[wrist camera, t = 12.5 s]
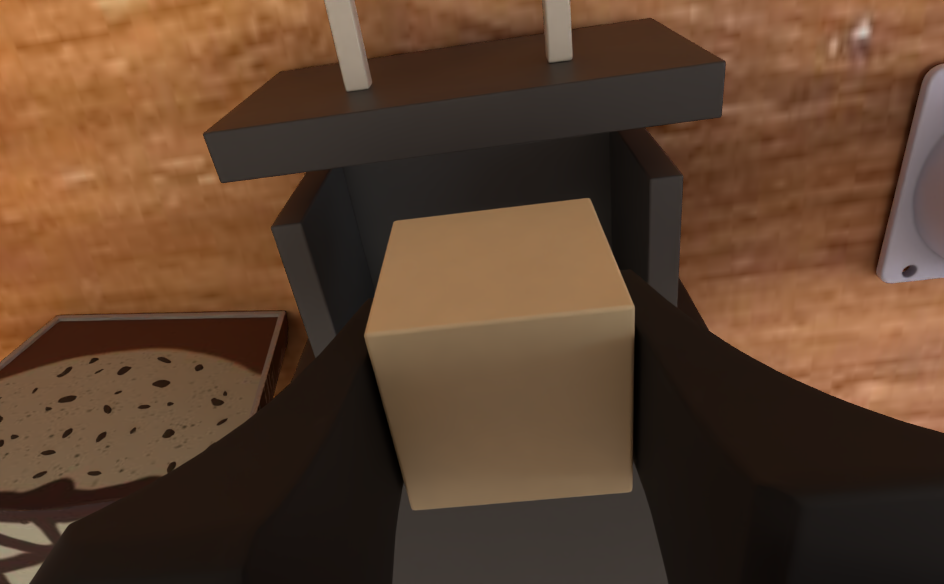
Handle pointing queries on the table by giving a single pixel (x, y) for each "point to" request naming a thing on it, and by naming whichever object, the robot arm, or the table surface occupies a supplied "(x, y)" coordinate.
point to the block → (505, 356)
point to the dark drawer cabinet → (531, 534)
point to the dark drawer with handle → (469, 145)
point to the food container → (119, 412)
